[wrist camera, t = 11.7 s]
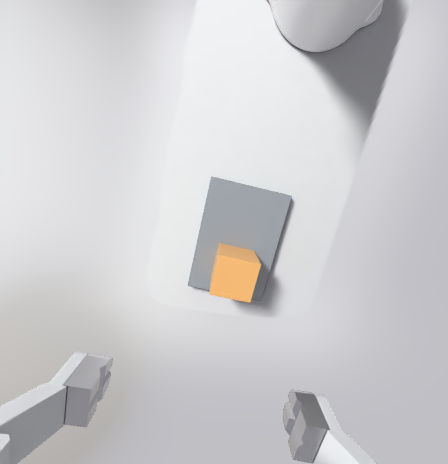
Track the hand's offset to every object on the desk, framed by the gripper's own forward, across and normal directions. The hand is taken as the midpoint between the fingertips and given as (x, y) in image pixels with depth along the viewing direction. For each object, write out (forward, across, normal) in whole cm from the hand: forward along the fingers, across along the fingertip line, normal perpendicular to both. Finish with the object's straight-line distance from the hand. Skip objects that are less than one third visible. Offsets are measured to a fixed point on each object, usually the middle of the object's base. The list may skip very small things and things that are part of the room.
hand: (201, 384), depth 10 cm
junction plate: (+32, -4, +1) cm, 32 cm away
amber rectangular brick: (+30, -4, +5) cm, 31 cm away
